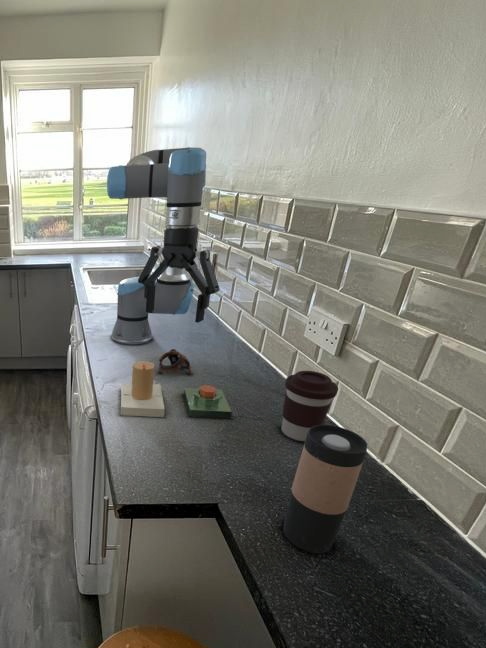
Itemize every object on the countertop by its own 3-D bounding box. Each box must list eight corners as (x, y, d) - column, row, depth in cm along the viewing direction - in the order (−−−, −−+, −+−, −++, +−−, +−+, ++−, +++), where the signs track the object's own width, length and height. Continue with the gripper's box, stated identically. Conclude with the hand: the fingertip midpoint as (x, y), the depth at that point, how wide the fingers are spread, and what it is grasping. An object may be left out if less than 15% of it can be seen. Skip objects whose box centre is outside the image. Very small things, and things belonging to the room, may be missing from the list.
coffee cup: (317, 425, 97) (333, 369, 91) (328, 449, 89) (346, 389, 83) (271, 419, 100) (284, 365, 94) (278, 442, 92) (292, 384, 86)
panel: (121, 390, 118) (121, 382, 117) (159, 392, 116) (160, 383, 115) (120, 415, 106) (121, 406, 104) (163, 417, 104) (164, 408, 102)
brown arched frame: (196, 380, 123) (187, 361, 118) (166, 390, 126) (157, 373, 122) (188, 356, 132) (179, 338, 127) (160, 366, 135) (151, 349, 131)
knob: (131, 389, 113) (132, 359, 109) (151, 390, 112) (153, 360, 108) (131, 399, 108) (133, 368, 104) (152, 400, 107) (155, 368, 103)
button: (198, 390, 108) (199, 384, 108) (213, 391, 108) (214, 385, 107) (200, 397, 105) (201, 391, 104) (216, 398, 104) (217, 392, 103)
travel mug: (271, 521, 71) (296, 426, 63) (312, 517, 72) (342, 422, 63) (299, 557, 64) (331, 456, 56) (345, 552, 65) (383, 451, 56)
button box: (183, 394, 114) (184, 382, 112) (220, 396, 112) (222, 383, 111) (189, 416, 103) (191, 403, 102) (230, 419, 102) (233, 405, 100)
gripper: (126, 226, 97) (123, 310, 106) (229, 230, 81) (215, 329, 90) (143, 223, 102) (139, 304, 111) (244, 226, 85) (229, 321, 94)
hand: (173, 316), depth 100 cm, fingers open, 13 cm apart
